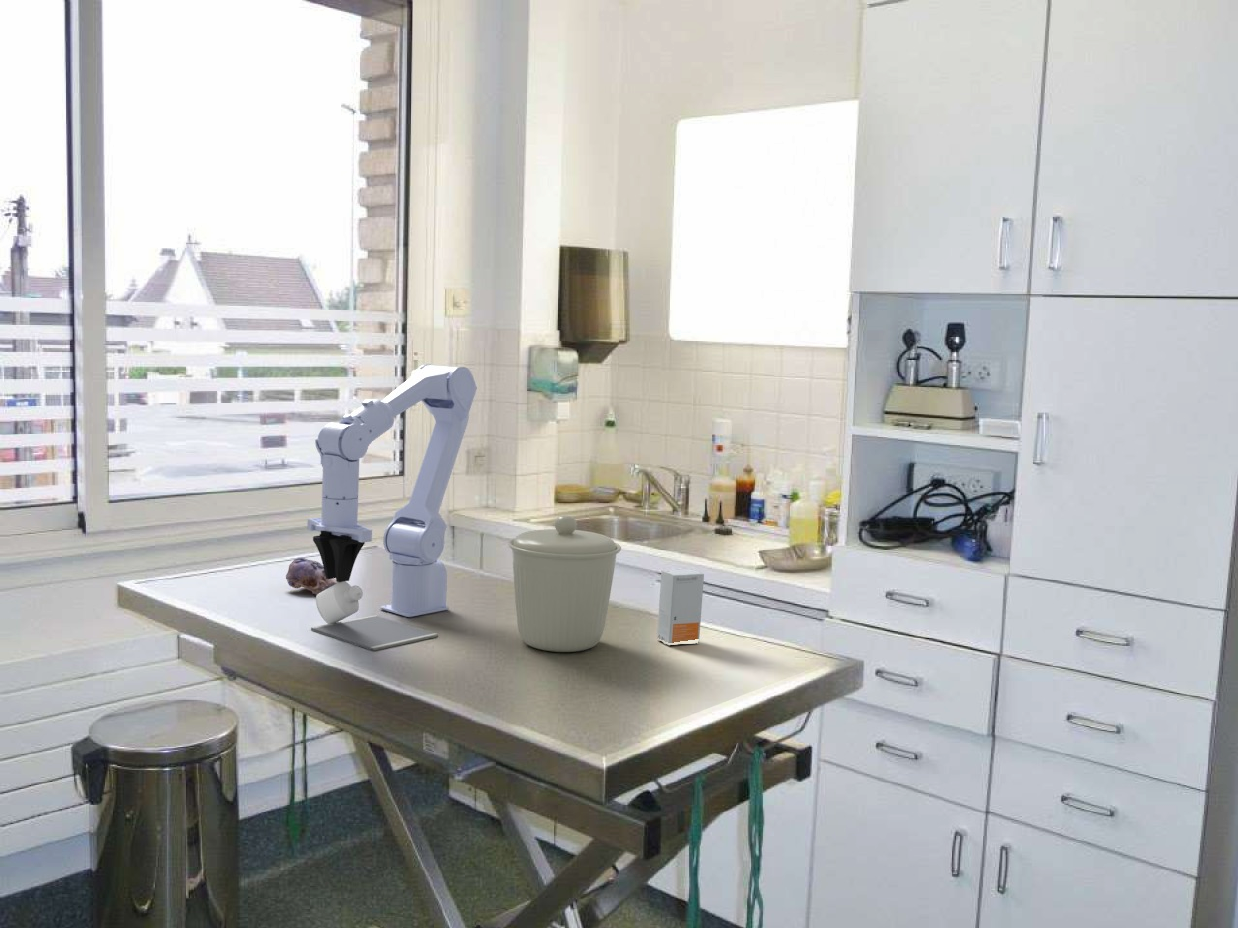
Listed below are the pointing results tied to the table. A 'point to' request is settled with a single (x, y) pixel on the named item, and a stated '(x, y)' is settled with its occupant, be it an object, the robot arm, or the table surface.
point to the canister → (562, 585)
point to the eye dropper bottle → (338, 602)
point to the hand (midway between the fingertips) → (337, 579)
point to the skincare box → (680, 605)
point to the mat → (374, 632)
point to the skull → (308, 576)
